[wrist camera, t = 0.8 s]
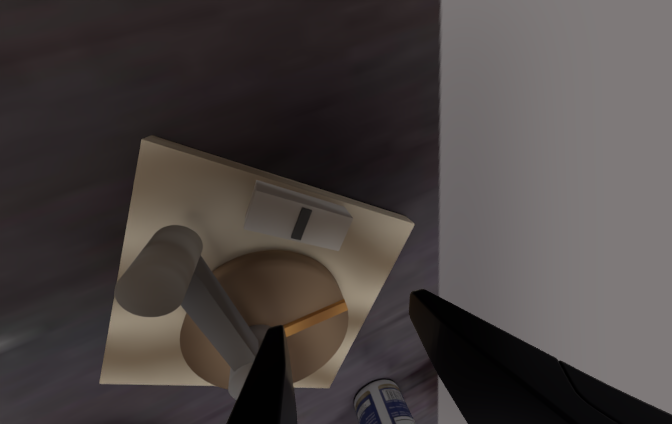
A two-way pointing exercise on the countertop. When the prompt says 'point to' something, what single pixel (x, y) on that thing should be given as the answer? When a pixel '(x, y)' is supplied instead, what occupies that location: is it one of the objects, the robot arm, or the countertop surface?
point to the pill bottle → (382, 404)
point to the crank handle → (236, 305)
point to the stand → (242, 248)
